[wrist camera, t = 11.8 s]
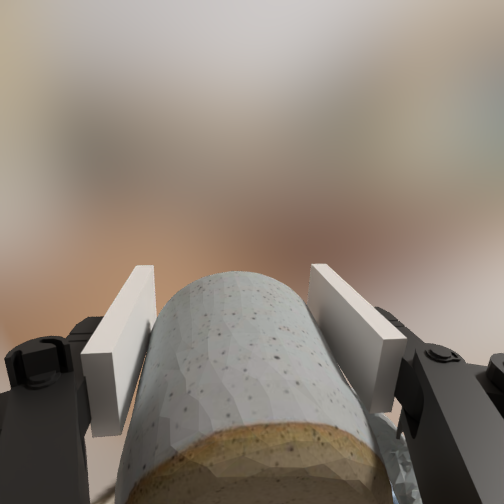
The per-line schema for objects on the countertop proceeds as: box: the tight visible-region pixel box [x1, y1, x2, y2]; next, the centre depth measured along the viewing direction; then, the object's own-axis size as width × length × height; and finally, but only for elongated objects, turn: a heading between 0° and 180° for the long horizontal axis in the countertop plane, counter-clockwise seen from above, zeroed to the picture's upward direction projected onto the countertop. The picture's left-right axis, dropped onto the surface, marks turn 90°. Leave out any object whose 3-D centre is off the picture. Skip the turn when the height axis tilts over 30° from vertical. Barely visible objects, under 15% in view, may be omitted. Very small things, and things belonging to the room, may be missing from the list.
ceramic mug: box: [115, 271, 422, 504], centre depth 11 cm, size 11×8×8 cm
